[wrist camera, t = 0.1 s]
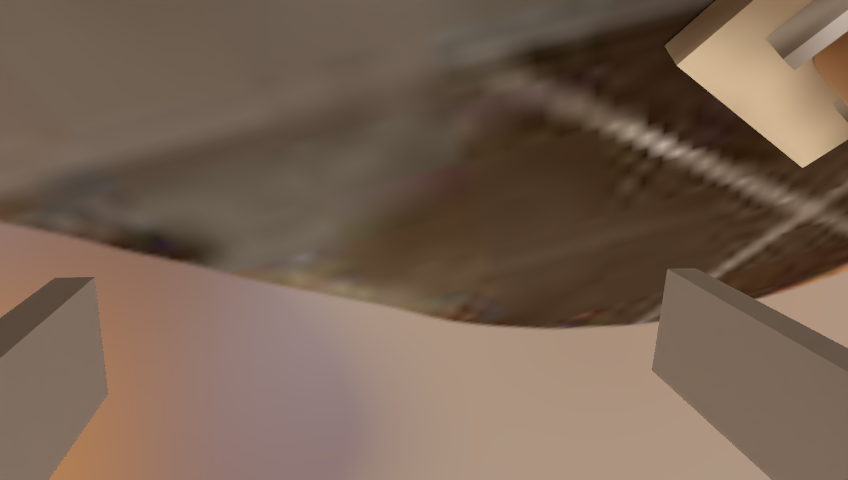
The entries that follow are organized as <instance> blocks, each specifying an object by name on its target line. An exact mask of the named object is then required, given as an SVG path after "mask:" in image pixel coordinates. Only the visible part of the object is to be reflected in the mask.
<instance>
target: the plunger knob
mask: <svg viewBox="0 0 848 480" xmlns="http://www.w3.org/2000/svg"><path fill="white" fill-rule="evenodd" d="M814 62H815V67H816V69H817V71H818V72H819V74H820V75H821V76H822V77H823V78H824V79H825V81H826V82H827V83H828V84H829V85H830V86H831V88H832V89H833V90H834V91H835V92H836V93H837V94H838V96H839V97H840V98H841V99H842V100H843V101H844V103H845V104H846V105H847V106H848V31H847V32H846V33H844V34H843V35H842V36H840V37H839V38H838V39H836V40H835V41H834V42H832V43H831V44H830V45H828V46H827V47H825V48H824V49H823V50H821V51H820V52H819V53H817V54H816V55H815V57H814Z"/></svg>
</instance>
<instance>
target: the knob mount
mask: <svg viewBox="0 0 848 480" xmlns="http://www.w3.org/2000/svg"><path fill="white" fill-rule="evenodd" d="M847 31H848V0H715V1H714V2H713V3H712V4H711V5H710V6H709V7H707V8H706V9H705V10H704V11H703V12H702V13H701V14H700V15H698V16H697V17H696V18H695V19H694V20H693V21H692V22H691V23H689V24H688V25H687V26H686V27H685V28H684V29H683V30H681V31H680V32H679V33H678V34H677V35H676V36H675V37H674V38H672V39H671V40H670V41H669V42H668V43H667V44H666V45H665V48H666V49H667V51H668V52H669V54H670V56H671V57H672V59H673V60H674V62H675V64H676V65H677V66H678V67H679V68H680V69H682V70H683V71H684V72H685V73H687V74H688V75H689V76H690V77H691V78H693V79H694V80H695V81H696V82H698V83H699V84H700V85H701V86H703V87H704V88H705V89H706V90H707V91H709V92H710V93H711V94H712V95H714V96H715V97H716V98H717V99H719V100H720V101H721V102H722V103H723V104H725V105H726V106H727V107H728V108H730V109H731V110H732V111H733V112H734V113H736V114H737V115H738V116H739V117H741V118H742V119H743V120H744V121H746V122H747V123H748V124H749V125H750V126H752V127H753V128H754V129H755V130H757V131H758V132H759V133H760V134H762V135H763V136H764V137H765V138H766V139H768V140H769V141H770V142H771V143H773V144H774V145H775V146H776V147H777V148H779V149H780V150H781V151H782V152H784V153H785V154H786V155H787V156H789V157H790V158H791V159H792V160H793V161H795V162H796V163H797V164H798V165H800V166H801V167H802V168H803V167H805V166H807V165H808V164H810V163H811V162H813V161H814V160H816V159H818V158H819V157H821V156H822V155H824V154H825V153H827V152H829V151H830V150H832V149H833V148H835V147H836V146H838V145H840V144H841V143H843V142H844V141H846V140H848V106H847V105H846V104H845V103H844V101H843V100H842V99H841V98H840V97H839V96H838V94H837V93H836V92H835V91H834V90H833V89H832V88H831V86H830V85H829V84H828V83H827V82H826V81H825V79H824V78H823V77H822V76H821V75H820V74H819V72H818V71H817V69H816V67H815V62H814V57H815V55H816V54H817V53H819V52H820V51H821V50H823V49H824V48H825V47H827V46H828V45H830V44H831V43H832V42H834V41H835V40H836V39H838V38H839V37H840V36H842V35H843V34H844V33H846V32H847Z"/></svg>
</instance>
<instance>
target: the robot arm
mask: <svg viewBox="0 0 848 480" xmlns="http://www.w3.org/2000/svg"><path fill="white" fill-rule="evenodd" d="M652 370H653V372H655V373H656V374H657V375H658V376H659V377H660V378H661V379H662V380H663V381H664V382H666V383H667V384H668V385H669V386H670V387H671V388H672V389H673V390H674V391H675V392H676V393H677V394H679V395H680V396H681V397H682V398H683V399H684V400H685V401H686V402H687V403H688V404H690V405H691V406H692V407H693V408H694V409H695V410H696V411H697V412H698V413H699V414H701V415H702V416H703V417H704V418H705V419H706V420H707V421H708V422H709V423H710V424H711V425H713V426H714V427H715V428H716V429H717V430H718V431H719V432H720V433H721V434H722V435H723V436H725V437H726V438H727V439H728V440H729V441H730V442H732V444H733V445H735V446H736V447H737V448H738V449H739V450H740V451H741V452H742V453H743V454H744V455H745V456H747V457H748V458H749V459H750V460H751V461H752V462H753V463H754V464H755V465H756V466H758V467H759V468H760V469H761V470H762V471H763V472H764V473H765V474H766V475H767V476H768V477H769V478H771V479H772V480H848V348H846V347H844V346H842V345H840V344H839V343H836V342H834V341H833V340H831V339H829V338H827V337H825V336H823V335H821V334H820V333H818V332H816V331H814V330H812V329H810V328H808V327H806V326H804V325H802V324H800V323H799V322H797V321H795V320H793V319H791V318H789V317H787V316H785V315H783V314H781V313H780V312H778V311H776V310H774V309H772V308H770V307H768V306H766V305H764V304H762V303H760V302H759V301H757V300H755V299H753V298H751V297H749V296H747V295H745V294H743V293H742V292H740V291H738V290H736V289H734V288H732V287H730V286H728V285H726V284H724V283H723V282H721V281H719V280H717V279H715V278H713V277H711V276H709V275H707V274H705V273H704V272H702V271H700V270H698V269H696V268H694V269H667V275H666V282H665V288H664V295H663V301H662V308H661V314H660V321H659V328H658V334H657V341H656V348H655V354H654V360H653V367H652ZM107 395H108V389H107V380H106V372H105V363H104V355H103V346H102V337H101V329H100V320H99V312H98V303H97V295H96V286H95V279H94V277H81V278H80V277H79V278H78V277H76V278H54V279H53V280H51V281H50V282H49V283H47V284H46V285H45V286H43V287H42V288H41V289H39V290H38V291H37V292H35V293H34V294H32V295H31V296H30V297H28V298H27V299H26V300H24V301H23V302H22V303H20V304H19V305H18V306H16V307H15V308H14V309H12V310H11V311H9V312H8V313H7V314H6V315H4V316H3V317H1V318H0V480H49V479H50V477H51V476H52V474H53V473H54V471H55V470H56V469H57V467H58V466H59V464H60V463H61V461H62V460H63V458H64V457H65V456H66V454H67V453H68V451H69V450H70V448H71V447H72V445H73V444H74V442H75V441H76V440H77V438H78V437H79V435H80V434H81V432H82V431H83V430H84V428H85V427H86V425H87V424H88V422H89V421H90V420H91V418H92V417H93V415H94V413H95V412H96V411H97V409H98V408H99V406H100V405H101V403H102V402H103V401H104V399H105V398H106V396H107Z"/></svg>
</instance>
